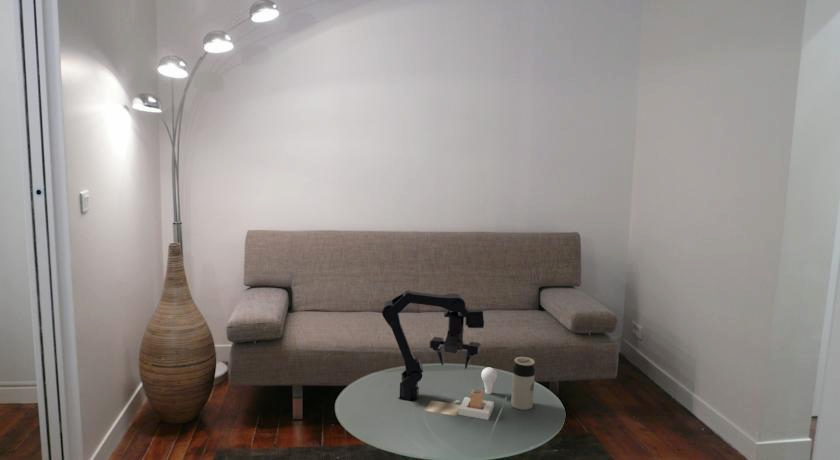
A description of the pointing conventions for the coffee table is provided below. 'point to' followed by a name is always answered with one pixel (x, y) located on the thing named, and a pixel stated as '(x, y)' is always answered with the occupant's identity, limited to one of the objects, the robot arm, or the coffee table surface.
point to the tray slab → (442, 408)
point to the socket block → (476, 413)
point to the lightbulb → (488, 379)
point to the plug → (476, 399)
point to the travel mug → (523, 383)
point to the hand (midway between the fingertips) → (454, 366)
